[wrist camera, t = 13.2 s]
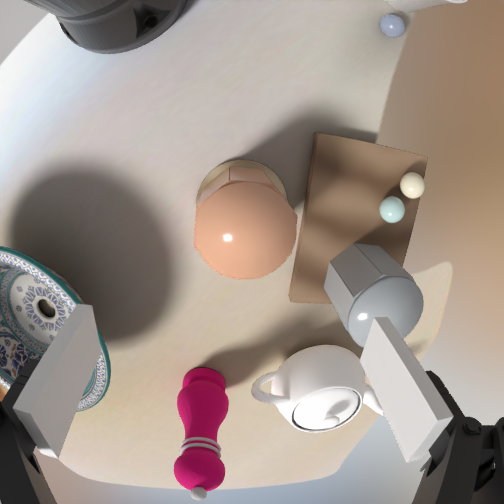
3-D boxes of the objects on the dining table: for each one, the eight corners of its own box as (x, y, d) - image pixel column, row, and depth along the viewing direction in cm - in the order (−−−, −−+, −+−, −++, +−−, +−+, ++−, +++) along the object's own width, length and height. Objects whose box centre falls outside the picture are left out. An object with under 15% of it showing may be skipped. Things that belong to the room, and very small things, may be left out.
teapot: (235, 390, 47) (238, 446, 37) (264, 321, 42) (274, 378, 32) (356, 404, 50) (374, 451, 40) (396, 345, 46) (425, 392, 36)
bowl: (145, 253, 37) (122, 293, 28) (119, 389, 46) (105, 434, 37) (-12, 199, 32) (-56, 220, 24) (-6, 336, 41) (-32, 369, 32)
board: (315, 132, 33) (318, 132, 32) (420, 155, 34) (427, 157, 33) (288, 295, 40) (290, 302, 39) (385, 299, 42) (390, 305, 40)
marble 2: (386, 198, 32) (407, 217, 31) (392, 186, 34) (412, 204, 33) (371, 215, 34) (391, 232, 34) (378, 203, 36) (397, 219, 36)
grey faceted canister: (333, 241, 36) (362, 276, 28) (396, 247, 37) (433, 280, 29) (319, 305, 39) (339, 350, 31) (378, 306, 40) (407, 347, 32)
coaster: (200, 155, 33) (199, 156, 33) (292, 165, 34) (293, 165, 34) (194, 243, 37) (193, 245, 36) (279, 250, 38) (280, 252, 37)
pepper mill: (173, 388, 46) (158, 501, 27) (190, 358, 43) (177, 481, 25) (216, 402, 47) (215, 513, 29) (236, 374, 45) (242, 495, 27)
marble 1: (373, 21, 28) (377, 13, 26) (395, 17, 27) (400, 9, 25) (383, 42, 29) (388, 35, 26) (405, 38, 28) (412, 31, 25)
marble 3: (411, 172, 31) (432, 186, 31) (406, 164, 33) (426, 176, 33) (397, 194, 32) (418, 207, 32) (393, 184, 35) (413, 196, 35)
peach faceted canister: (205, 164, 33) (197, 178, 25) (285, 172, 34) (303, 188, 26) (200, 239, 36) (192, 275, 28) (275, 246, 37) (288, 282, 29)
